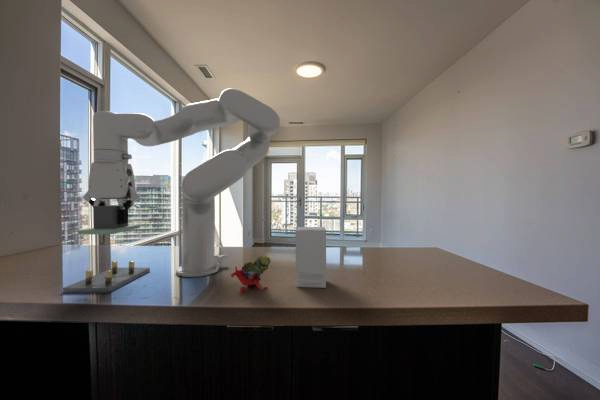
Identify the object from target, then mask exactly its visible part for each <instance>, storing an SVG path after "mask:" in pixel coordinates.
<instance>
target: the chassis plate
mask: <svg viewBox="0 0 600 400" xmlns="http://www.w3.org/2000/svg"><path fill="white" fill-rule="evenodd" d="M150 269H151V268H150V267H135V260H130V261H128V267H118V260H113V261H111V268H110V269H108V270H104V271H103V272H99V273H97V274H94V273H93V272H94V270H93V269H89V270H85V279H82V280H80V281H76V282H75V283H72V284H70V285H68V286H67V285H66V286H65V287H62V293H63V294H110V293H112V292H113V291H116V290H117V289H119V288H122V287H123V286H125V285H127V284H129V283H130V282H133V281H134V280H136V279H138V278H140V277H142V276H144V275H146V274H148V273H149V272H151V270H150ZM109 292H110V293H109Z"/></svg>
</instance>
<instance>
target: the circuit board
mask: <svg viewBox="0 0 600 400" xmlns="http://www.w3.org/2000/svg"><path fill="white" fill-rule="evenodd" d="M92 208H93V209H92V210H93V211H92V212H93V213H92V215H93V216H92V217H93V218H92V219H93V222H92V223H93V227H90V228H85V229H79V230H77V235H113V234H119V233H123V232H128V231H133V230H136V229H140V228H141V224H130V223H129V222H128V223H126V224H118V212H117V211H118V210H120V208H119V205H117V204H116V205H115V204H110V205H107V204H106V206H92Z"/></svg>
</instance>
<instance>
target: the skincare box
mask: <svg viewBox="0 0 600 400" xmlns="http://www.w3.org/2000/svg"><path fill="white" fill-rule="evenodd" d="M326 230H327V229H326V227H325V226H311V227H310V226H298V227H297V228H296V229H295V230H294V232H295V286H296V288H322V289H325V288H327V233H326V232H327V231H326Z"/></svg>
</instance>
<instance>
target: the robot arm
mask: <svg viewBox="0 0 600 400" xmlns="http://www.w3.org/2000/svg"><path fill="white" fill-rule="evenodd" d="M239 121H241V122H243V123H245V124H246V125H247V138H246V139H245V140H244V141H243V142H241V143H239V144H238V145H237V146H235V147H233V148H232V149H226V150H225V149H224V150H223V151H222V150H221V152H219V153H217V154H215V155H214V156H212V157H211V158H209V159H208V160H205V162H202V163H201V164H199V165H198V166H196V167H195V168H193V169H190V171H189V172H187V173H186V174H185V175H184V177H183V178H182V181H181V197H182V198H181V199H182V201H181V203H182V206H181V207H182V209H181V212H182V213H181V214H182V216H181V217H182V219H181V266H179V267H177V268H176V271H175V272H176V275H178V276H179V277H184V278H198V277H204V276H205V277H206V276H210V275H212V274H215V273H217V272H218V271H219V270H220V264H218V263H220V262H223V261H228V255H227V254H221V255H220V254H215V228H216V227H215V223H216V222H215V221H216V219H215V217H216V214H215V213H216V212H215V211H216V210H215V207H216V206H215V205H216V204H215V203H216V202H215V197H216V196H218V195H219V194H221V193H223V192H224V191H225V190H227V189H228V188H229V187H232V186H233V185H234V184H236V183H237V182H238V181H240V180H241V179H242V178H244V177H245V175H246V174H247V171H249V170H250V169H252V168H253V167H254V166H256V165H257V164H258V163H259V162H261V161H262V160H263V159H264V158H265V157H266V156H267V154H268V153H269V149H270V141H271V140H270V138H271V137H272V136H273V135H274V134H275V133H277V131H278V130H279V128H280V125H281V120H280V117H279V114H278V113H277V112H276V110H275V109H273V108H272V107H271V106H269V105H268V104H265V103H263V102H262V101H260V100H259V99H257V98H255V97H253V96H251V95H250V94H248V93H245V92H244V91H242V90H240V89H237V88H231V87H230V88H226V89H224V90H222V91H221V92H220V95H219V98H213V99H209V100H203V101H199V102H193V103H189V104H186V105H185V106H183V107H182V108H181V109H179V110H178V112H176V113H175V114H173V115H171V116H169V117H165V118H162V119H158V120H154V119H153V117H151V116H149V115H147V114H145V113H139V112H135V113H134V112H130V113H127V112H126V113H124V112H123V113H121V112H120V113H119V112H113V111H108V110H99V111H95V112H94V113H93V116H92V128H93V129H92V130H93V131H92V133H93V135H92V137H93V138H92V139H93V141H92V142H93V162H91V165H90V168H89V173H88V190H87V191H86V192H85V193H84V195H83V196H82V198H83V200H85V201H86V202H88V203H89V205H90V206H91V207H93V206H106V205H107V202H108V200H116V203H117V204H118V205H119V208H120V210H118V211H117V212H118V224H126V223H128V224H129V210H130V209H131V207H132V206H133V205H134V204H135V203H136V202H137V201H139V200H140V199H141V197H140V195H139V193H137V191H136V183H135V174H134V169H133V166H132V164H131V163H129V160H131V159H132V158H133V156H132V154H130V153H129V149H128V147H129V146H128V145H129V143H128V141H129V139H131V140H133V141H135V142H136V143H137V144H138V145H141V146H143V147H155V146H159V145H164V144H168V143H172V142H175V141H178V140H182V139H184V138H187V137H189V136H193V135H195V134H197V133H202V132H205V131H209V130H212V129H213V130H214V129H217V128H221V127H225V126H229V125H234V124H236V123H238V122H239Z"/></svg>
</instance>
